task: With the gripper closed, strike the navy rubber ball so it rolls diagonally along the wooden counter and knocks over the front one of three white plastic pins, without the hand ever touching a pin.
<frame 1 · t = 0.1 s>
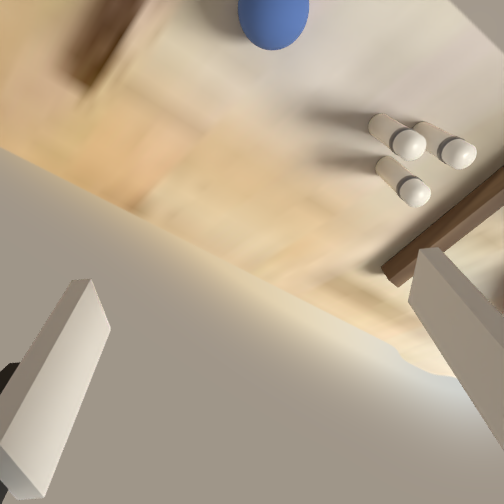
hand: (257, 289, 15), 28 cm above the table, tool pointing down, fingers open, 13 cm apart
ball: (273, 9, 30), on the table
back wall: (459, 209, 45), on the table
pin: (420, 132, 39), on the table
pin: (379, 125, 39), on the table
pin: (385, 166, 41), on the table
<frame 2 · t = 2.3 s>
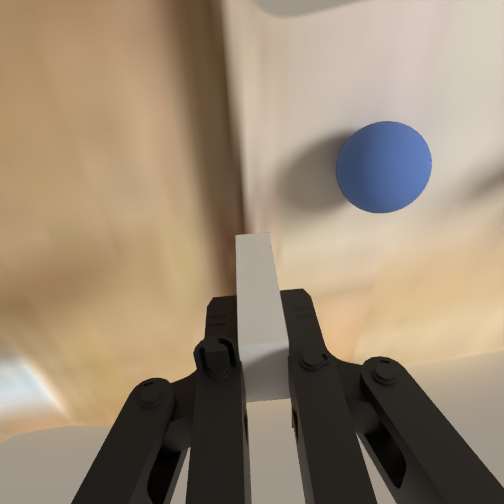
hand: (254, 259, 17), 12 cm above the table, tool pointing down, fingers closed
ball: (381, 168, 24), on the table
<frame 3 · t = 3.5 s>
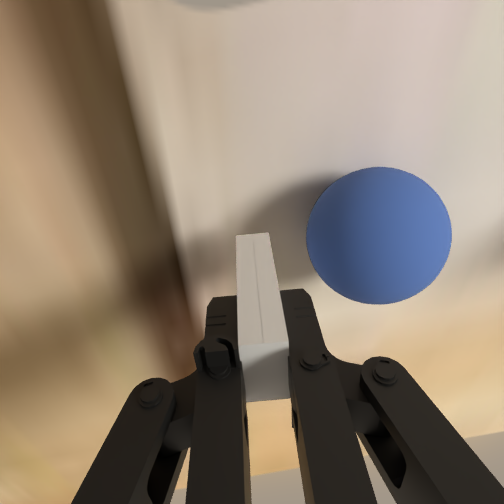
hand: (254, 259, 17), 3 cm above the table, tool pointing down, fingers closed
ball: (374, 236, 16), on the table
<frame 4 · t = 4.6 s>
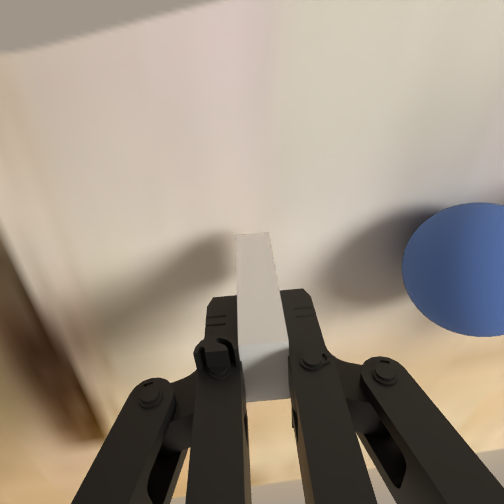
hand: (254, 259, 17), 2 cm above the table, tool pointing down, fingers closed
ball: (473, 269, 16), on the table
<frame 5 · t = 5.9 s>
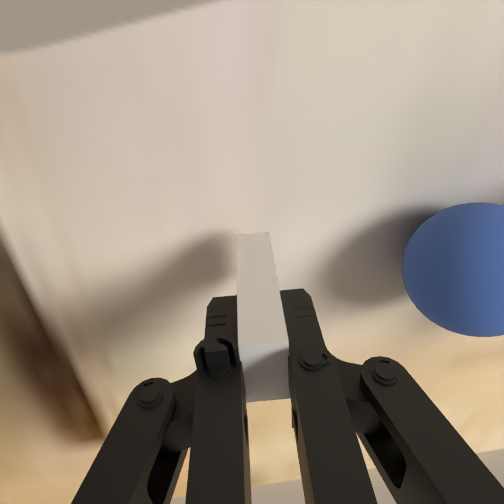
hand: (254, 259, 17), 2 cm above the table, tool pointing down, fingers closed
ball: (473, 269, 16), on the table
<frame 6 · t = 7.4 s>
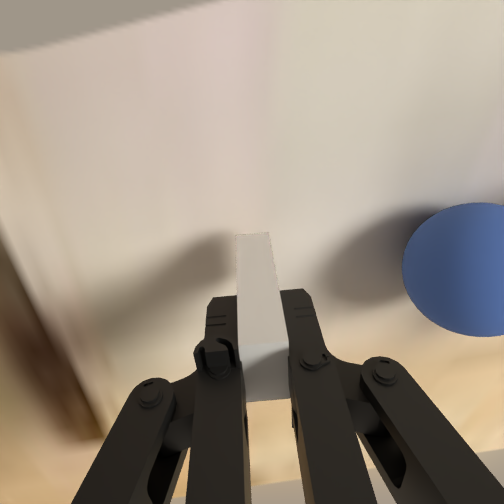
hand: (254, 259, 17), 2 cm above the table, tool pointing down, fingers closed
ball: (473, 269, 16), on the table
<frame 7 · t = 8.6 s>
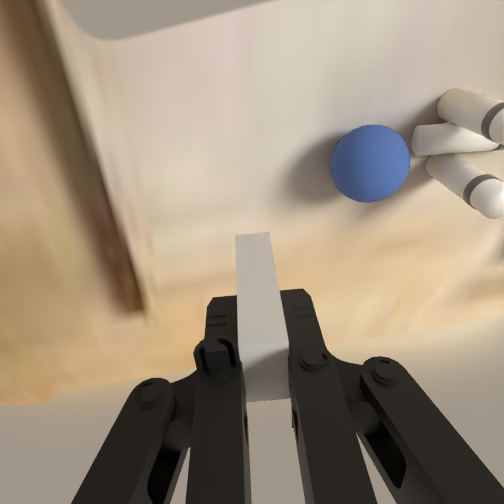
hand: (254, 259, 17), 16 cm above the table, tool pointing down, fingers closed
ball: (369, 164, 28), on the table
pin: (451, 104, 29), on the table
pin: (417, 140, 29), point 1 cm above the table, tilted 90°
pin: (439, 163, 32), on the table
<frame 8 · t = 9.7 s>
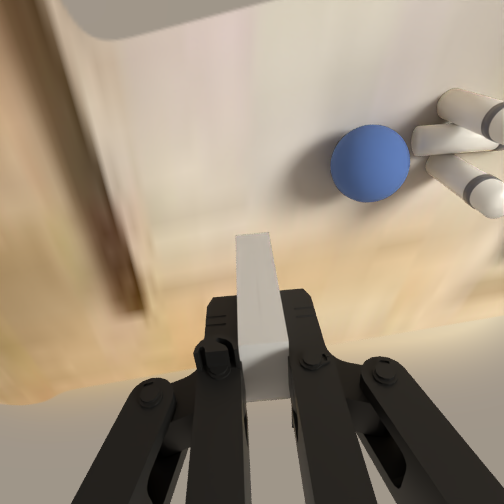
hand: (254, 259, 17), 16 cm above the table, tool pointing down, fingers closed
ball: (368, 164, 28), on the table
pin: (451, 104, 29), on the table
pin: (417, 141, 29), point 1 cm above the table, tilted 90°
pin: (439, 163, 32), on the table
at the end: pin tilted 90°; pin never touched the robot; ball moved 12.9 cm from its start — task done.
